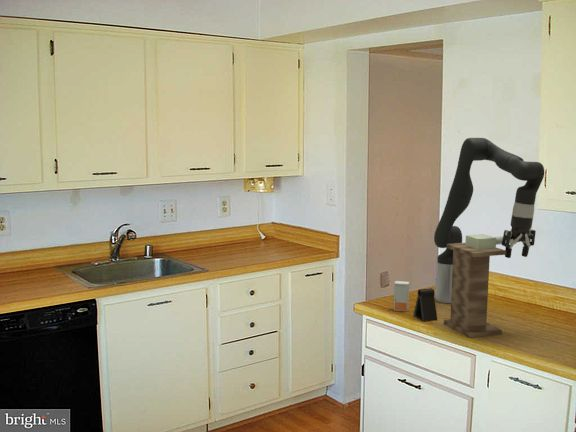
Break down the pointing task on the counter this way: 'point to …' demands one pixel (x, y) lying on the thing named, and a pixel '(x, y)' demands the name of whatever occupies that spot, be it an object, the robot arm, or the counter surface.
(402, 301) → the skincare box
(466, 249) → the walnut stand
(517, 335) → the counter surface
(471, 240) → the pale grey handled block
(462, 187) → the robot arm
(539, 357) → the counter surface
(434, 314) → the phone stand
